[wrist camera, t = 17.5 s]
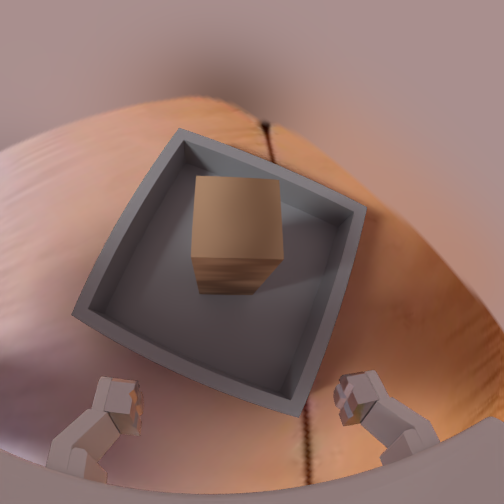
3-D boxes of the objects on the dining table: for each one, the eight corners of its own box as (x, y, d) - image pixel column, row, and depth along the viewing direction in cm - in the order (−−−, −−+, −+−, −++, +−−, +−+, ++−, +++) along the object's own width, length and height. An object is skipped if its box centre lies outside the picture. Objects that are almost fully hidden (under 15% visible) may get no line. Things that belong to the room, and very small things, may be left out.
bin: (93, 320, 25) (71, 314, 20) (182, 156, 31) (179, 127, 26) (283, 405, 25) (298, 417, 20) (346, 226, 31) (367, 207, 27)
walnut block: (199, 294, 26) (190, 257, 15) (201, 243, 27) (196, 175, 16) (252, 295, 27) (283, 259, 15) (251, 245, 28) (279, 179, 17)
